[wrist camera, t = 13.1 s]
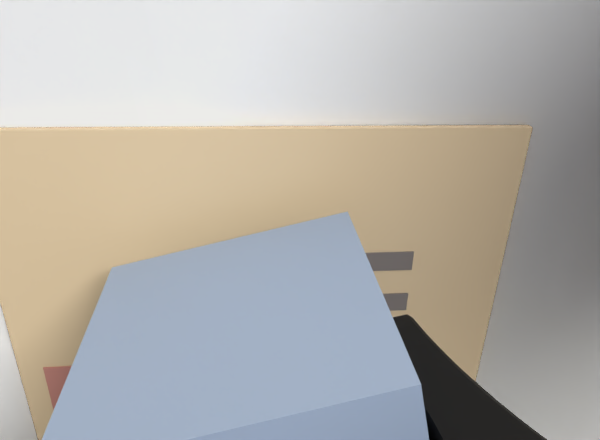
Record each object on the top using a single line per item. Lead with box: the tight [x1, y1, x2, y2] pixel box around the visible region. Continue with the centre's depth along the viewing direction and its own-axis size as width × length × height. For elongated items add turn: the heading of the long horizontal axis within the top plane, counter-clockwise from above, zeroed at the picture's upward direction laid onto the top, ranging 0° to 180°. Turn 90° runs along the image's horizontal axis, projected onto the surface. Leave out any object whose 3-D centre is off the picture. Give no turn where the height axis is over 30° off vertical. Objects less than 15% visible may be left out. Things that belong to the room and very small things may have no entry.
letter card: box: [0, 125, 532, 440], centre depth 13 cm, size 12×9×1 cm
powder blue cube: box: [42, 212, 429, 440], centre depth 10 cm, size 5×5×5 cm
